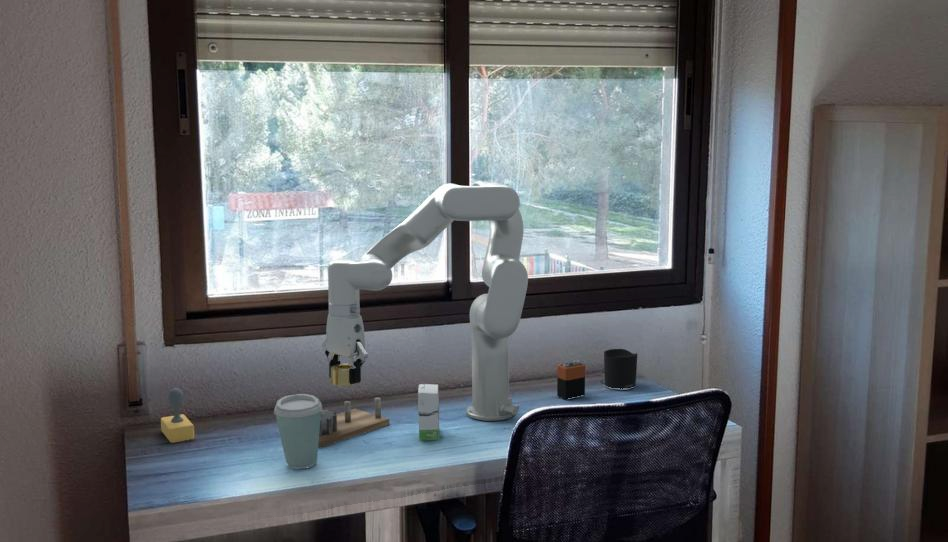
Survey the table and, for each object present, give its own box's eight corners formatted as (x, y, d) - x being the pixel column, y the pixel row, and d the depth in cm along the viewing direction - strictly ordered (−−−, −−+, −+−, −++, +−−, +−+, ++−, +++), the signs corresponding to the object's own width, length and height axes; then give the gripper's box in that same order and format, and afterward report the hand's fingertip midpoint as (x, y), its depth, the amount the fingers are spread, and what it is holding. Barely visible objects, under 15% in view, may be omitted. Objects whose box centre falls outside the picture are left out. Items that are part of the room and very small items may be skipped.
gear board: (389, 424, 237) (388, 398, 236) (321, 447, 221) (320, 420, 220) (354, 414, 246) (354, 389, 245) (286, 435, 230) (285, 409, 229)
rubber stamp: (194, 439, 228) (192, 391, 226) (170, 443, 225) (167, 395, 223) (184, 427, 237) (182, 381, 235) (161, 431, 234) (158, 385, 232)
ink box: (439, 440, 225) (438, 393, 224) (418, 441, 225) (417, 393, 223) (439, 428, 234) (438, 382, 232) (419, 429, 234) (418, 383, 232)
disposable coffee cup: (329, 469, 207) (327, 403, 205) (280, 476, 204) (277, 409, 201) (319, 453, 217) (317, 390, 215) (272, 459, 214) (269, 396, 211)
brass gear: (343, 388, 229) (343, 372, 228) (325, 382, 233) (324, 367, 233) (364, 382, 234) (364, 366, 233) (346, 377, 239) (346, 361, 238)
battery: (585, 396, 260) (586, 361, 258) (566, 400, 256) (566, 365, 255) (575, 392, 263) (576, 358, 262) (556, 396, 260) (556, 361, 258)
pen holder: (603, 390, 265) (603, 356, 264) (604, 381, 274) (604, 348, 273) (636, 392, 264) (637, 357, 262) (636, 382, 273) (637, 349, 271)
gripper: (379, 312, 228) (380, 383, 231) (332, 303, 239) (333, 371, 242) (356, 317, 222) (356, 390, 225) (309, 307, 234) (310, 376, 237)
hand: (344, 379), depth 234 cm, fingers closed on brass gear, 6 cm apart
